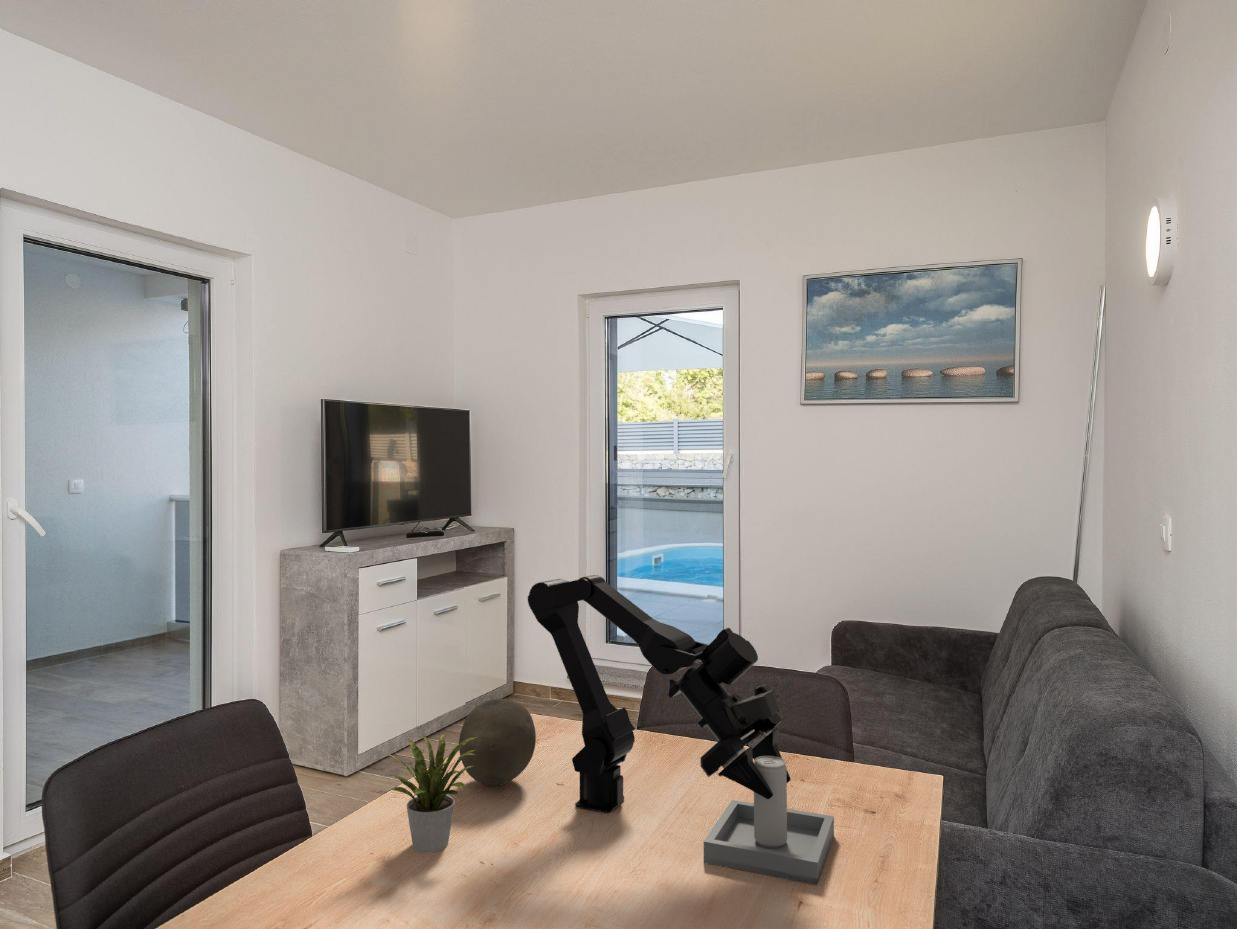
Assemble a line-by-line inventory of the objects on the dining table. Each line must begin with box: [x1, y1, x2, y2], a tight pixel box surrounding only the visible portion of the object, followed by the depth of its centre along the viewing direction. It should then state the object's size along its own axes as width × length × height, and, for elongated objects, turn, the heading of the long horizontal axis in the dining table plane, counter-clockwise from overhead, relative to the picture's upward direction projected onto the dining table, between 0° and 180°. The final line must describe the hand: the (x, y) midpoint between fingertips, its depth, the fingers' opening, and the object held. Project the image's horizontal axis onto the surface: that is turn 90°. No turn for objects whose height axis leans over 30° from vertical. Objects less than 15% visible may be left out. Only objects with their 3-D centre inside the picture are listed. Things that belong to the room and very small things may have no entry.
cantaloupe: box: [458, 698, 537, 787], centre depth 143 cm, size 14×14×15 cm
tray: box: [703, 799, 835, 886], centre depth 118 cm, size 16×16×3 cm
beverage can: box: [753, 756, 788, 848], centre depth 119 cm, size 5×5×12 cm
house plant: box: [385, 732, 477, 854], centre depth 120 cm, size 14×14×16 cm
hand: (779, 789), depth 118 cm, fingers open, 7 cm apart
